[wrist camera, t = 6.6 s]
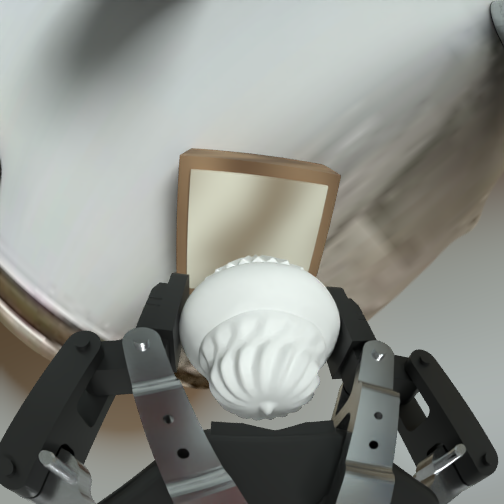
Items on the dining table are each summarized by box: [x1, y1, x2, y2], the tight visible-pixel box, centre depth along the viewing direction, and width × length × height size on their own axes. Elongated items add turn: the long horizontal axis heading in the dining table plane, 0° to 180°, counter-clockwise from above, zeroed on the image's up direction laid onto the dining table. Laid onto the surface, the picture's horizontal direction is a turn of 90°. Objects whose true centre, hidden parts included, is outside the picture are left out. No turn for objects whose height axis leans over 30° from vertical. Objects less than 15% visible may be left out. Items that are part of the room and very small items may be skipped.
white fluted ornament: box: [179, 255, 340, 420], centre depth 10 cm, size 6×6×7 cm
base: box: [176, 148, 341, 294], centre depth 20 cm, size 10×10×4 cm
